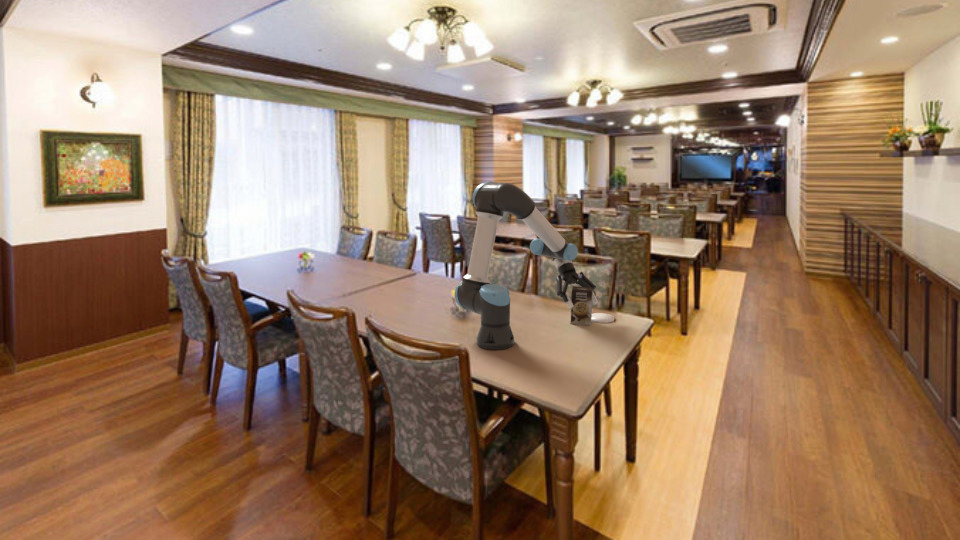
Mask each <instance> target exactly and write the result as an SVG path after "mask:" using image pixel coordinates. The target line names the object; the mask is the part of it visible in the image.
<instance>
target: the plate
mask: <svg viewBox="0 0 960 540" xmlns="http://www.w3.org/2000/svg"><path fill="white" fill-rule="evenodd" d="M591 322H593V323H596V324H597V323H598V324H609V323H612V322H615V316H614V315H612V314H609V313H606V312H605V313H604V312H594V313H593V312H592V319H591Z"/></svg>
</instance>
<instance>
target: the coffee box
mask: <svg viewBox="0 0 960 540" xmlns="http://www.w3.org/2000/svg"><path fill="white" fill-rule="evenodd" d="M592 298H593V288H590V287H582V286H572V288H571V301H572V304H573V307H572V308H571V309H570V323H569V324H570V325H580V326H592V321H591V319H592V314H593V302H592Z"/></svg>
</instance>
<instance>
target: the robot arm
mask: <svg viewBox="0 0 960 540" xmlns="http://www.w3.org/2000/svg"><path fill="white" fill-rule="evenodd" d="M472 193H473V194H472V203H473V206H474V208H475V214H476V216H477V222H476V227H475V232H474V236H473V242H472V248H471V253H470V258H469V263H468V267H467V268H468V269H467V273H466V274H465V275H463V277H462V280H461V281H460V282H458V284H457V285H455V286H456V287H455V289H454V301H455V303H456V304H457V306H458V307H460V308H462V309H463V310H465V311H467V312H468V311H469V312H472V313H475V314H477V315H480V326H479V331H478V333H477V336H476V344H477V346H478V347H479V348H481V349H484V350H490V351H500V350H506V349H510V348H512V347H513V346H514V345H515V337H514V334H513V330H512V328H511V322H510V321H511V297H510V290H509V288H507V287H506V286H504V285H501V284H495V283H491V280H490V279H489V272H490V267H491V263H492V257H493V256H492V255H493V251H494V245H495V240H496V235H497V230H498V225H499V221H500V220H502V219H503V218H504V214H505V213H507V214H510V215H512V216H514V218H516V219H517V220H519V221H522V222H523V223H524V224H525V225H526V226H527V227H528V228H529V229H530V230H531V231H532V232H533V233H534V234H535V235H536V236H537V237H538V238H533V240H532V241H531V242H530V243H529V250H530V252H531V253H532V254H533V255H536V256H542V257H547V258H551V259H552V261H553V264H554V265H555V268H556V269H557V272H558V273H559V275H558V276H557V277H556V279H555V280H556V282H557V285H556V287H557V288H556V295H557V296H558V297H559V296H560V298H562V299H563V301H564V303H566V306H567V307H568V308H569V310H571V308H572V307H573V304H572V301H571V300H572V298H570V295H569V293H567V291H568V288H569V285H572V284H573V285H574V284H576V285H579V287H590V288H593V298H592V305H594V306H595V305H596V304H598V302H599V300H598V299H597V294H596V292H595V289H596V287H597V286H596V285H595V284H594V283H593V282H592V281H591V280H590V279H589V278H588V277H586V275H585V273H583V271H580V272H579V273H578V272H576V271H577V270H576V268H575V265H574V264H573V261H574V260H575V259H576V258H577V256H578V254H579V253H578V252H579V251H578V250H579V249H578V246H577V245H576V244H574V243H571V242H568V241H567V240H566V239H565V238H564V237H563V236H562V235H561V234H560V233H559V232H558V230H557V229H556V228H555V227H554V226H553V225H552V224H551V223H550V221H548V219H547V218H546V217H545V216H544V215H543V213H541V212H540V211H539V209H538V208H537V207H536V202H535V201H534V200H533V199H532V198H531V197H530V196H529V194H528V193H526V192H525V190H523V189H521V187H518V186H517V185H515V184H513V183H510V182H493V181H489V182H482V183H480V184H479V185H477V186H476V188H475V189H474V190H473V192H472ZM563 281H564V284H563Z"/></svg>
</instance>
